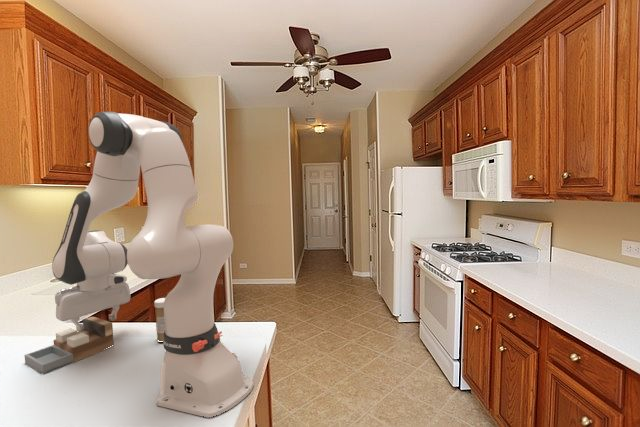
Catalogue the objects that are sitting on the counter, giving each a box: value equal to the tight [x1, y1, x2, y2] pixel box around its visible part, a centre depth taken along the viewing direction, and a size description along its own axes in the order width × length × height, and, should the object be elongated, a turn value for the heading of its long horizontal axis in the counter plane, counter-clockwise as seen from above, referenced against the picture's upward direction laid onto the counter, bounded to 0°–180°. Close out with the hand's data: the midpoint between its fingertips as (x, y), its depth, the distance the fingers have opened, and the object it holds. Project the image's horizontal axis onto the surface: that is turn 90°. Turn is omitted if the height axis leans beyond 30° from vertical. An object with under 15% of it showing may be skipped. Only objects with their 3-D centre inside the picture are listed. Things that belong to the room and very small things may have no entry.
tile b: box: [55, 328, 78, 342], centre depth 101 cm, size 4×4×2 cm
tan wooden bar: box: [82, 316, 114, 337], centre depth 105 cm, size 12×3×4 cm, turn 59°
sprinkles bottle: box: [153, 297, 166, 341], centre depth 106 cm, size 5×5×13 cm
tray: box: [24, 344, 75, 375], centre depth 94 cm, size 12×7×2 cm, turn 59°
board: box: [53, 330, 115, 363], centre depth 102 cm, size 12×11×4 cm
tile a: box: [67, 333, 89, 347], centre depth 97 cm, size 4×4×2 cm
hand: (97, 324), depth 105 cm, fingers open, 8 cm apart
